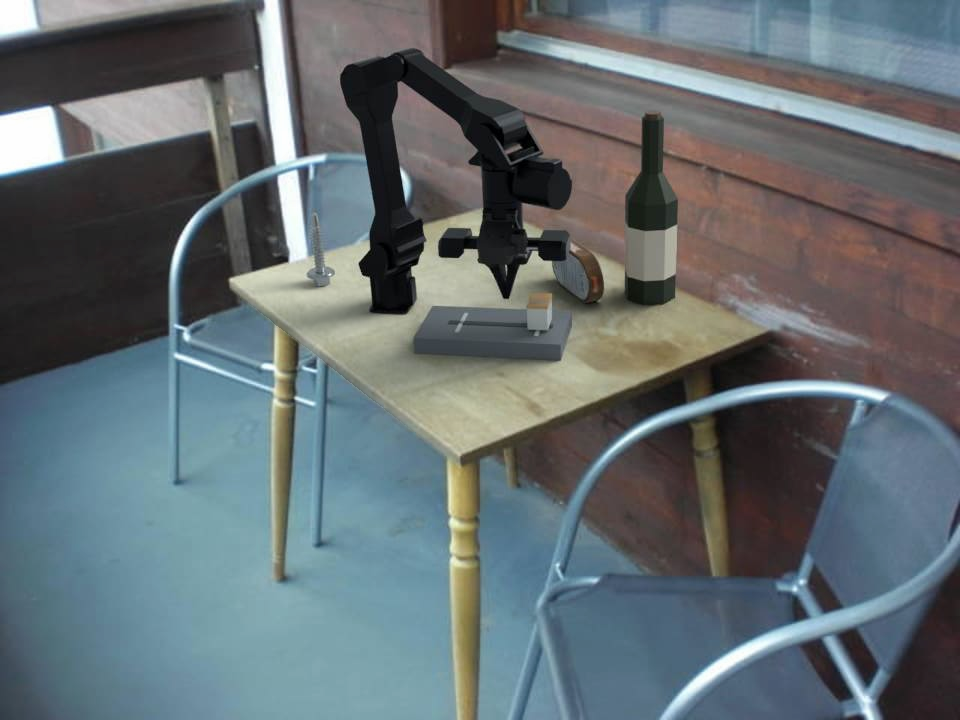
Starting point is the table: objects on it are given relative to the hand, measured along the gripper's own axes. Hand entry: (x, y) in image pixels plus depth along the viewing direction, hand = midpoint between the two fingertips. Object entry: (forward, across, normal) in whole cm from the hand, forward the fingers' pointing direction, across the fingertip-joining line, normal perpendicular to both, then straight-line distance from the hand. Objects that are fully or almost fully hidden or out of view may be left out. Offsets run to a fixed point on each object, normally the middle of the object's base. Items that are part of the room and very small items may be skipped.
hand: (506, 298), depth 171 cm
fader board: (+7, -2, 0) cm, 7 cm away
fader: (+4, +5, 0) cm, 6 cm away
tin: (+7, +8, +19) cm, 22 cm away
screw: (+7, -36, +19) cm, 42 cm away
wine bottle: (+7, +20, +19) cm, 28 cm away
